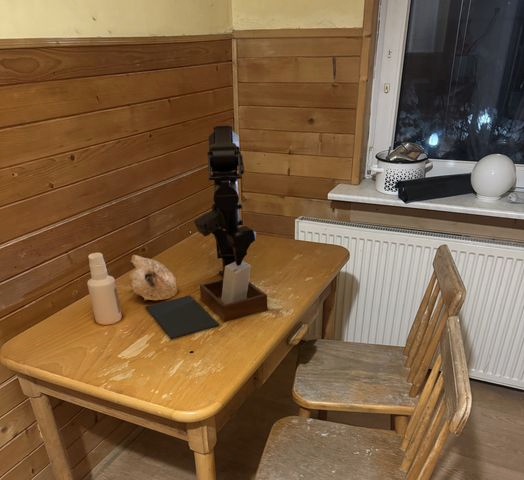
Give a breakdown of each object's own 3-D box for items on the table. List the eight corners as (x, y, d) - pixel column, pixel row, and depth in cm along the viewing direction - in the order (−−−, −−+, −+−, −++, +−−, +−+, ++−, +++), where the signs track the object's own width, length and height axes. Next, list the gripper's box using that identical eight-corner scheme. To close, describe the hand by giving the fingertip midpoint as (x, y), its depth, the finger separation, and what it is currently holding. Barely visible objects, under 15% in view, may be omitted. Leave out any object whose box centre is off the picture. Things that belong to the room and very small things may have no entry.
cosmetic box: (235, 295, 143) (239, 257, 135) (246, 302, 141) (252, 265, 133) (219, 303, 139) (223, 265, 131) (231, 311, 137) (236, 272, 129)
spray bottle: (127, 315, 136) (114, 251, 127) (112, 326, 131) (99, 261, 121) (105, 311, 138) (91, 249, 129) (90, 323, 133) (75, 258, 123)
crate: (200, 299, 143) (199, 284, 141) (241, 289, 148) (240, 274, 146) (224, 322, 131) (223, 306, 129) (267, 309, 137) (267, 294, 134)
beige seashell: (179, 316, 148) (184, 298, 143) (128, 315, 142) (133, 295, 137) (168, 274, 159) (173, 255, 153) (121, 271, 153) (125, 251, 147)
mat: (146, 308, 140) (145, 306, 139) (189, 297, 145) (189, 295, 144) (171, 339, 125) (170, 337, 124) (219, 325, 130) (219, 323, 129)
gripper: (182, 197, 129) (188, 255, 137) (212, 214, 115) (217, 278, 123) (221, 190, 133) (225, 247, 141) (255, 206, 119) (258, 268, 127)
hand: (230, 259), depth 133 cm, fingers open, 9 cm apart
